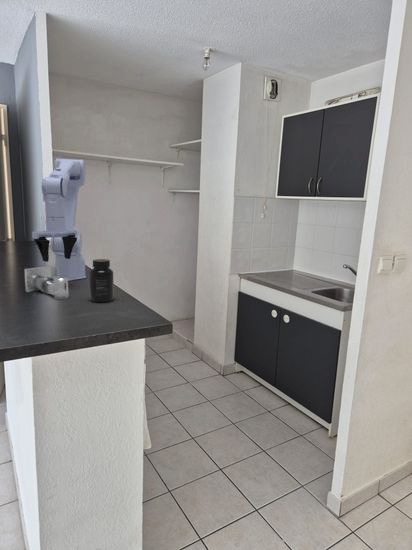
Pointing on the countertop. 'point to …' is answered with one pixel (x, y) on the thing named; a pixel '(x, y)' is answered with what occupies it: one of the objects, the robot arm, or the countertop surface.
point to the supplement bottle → (101, 281)
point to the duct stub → (37, 278)
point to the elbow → (57, 287)
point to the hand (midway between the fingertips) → (56, 259)
